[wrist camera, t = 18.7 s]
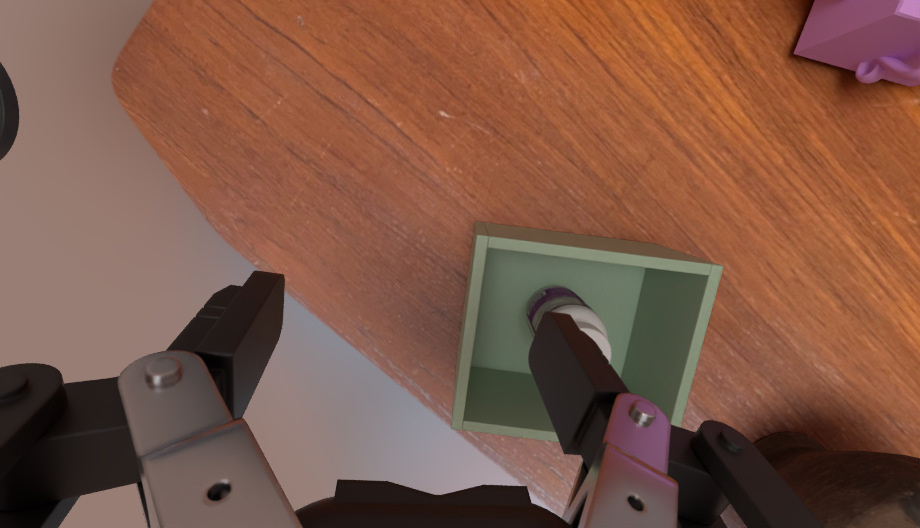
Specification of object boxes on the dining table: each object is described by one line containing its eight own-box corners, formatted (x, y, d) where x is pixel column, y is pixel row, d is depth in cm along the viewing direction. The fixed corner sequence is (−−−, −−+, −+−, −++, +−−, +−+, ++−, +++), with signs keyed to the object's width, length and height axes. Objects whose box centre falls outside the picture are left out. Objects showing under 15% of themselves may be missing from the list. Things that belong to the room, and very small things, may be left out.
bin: (455, 369, 38) (450, 429, 29) (474, 220, 35) (476, 234, 26) (623, 389, 38) (672, 456, 29) (656, 243, 36) (724, 265, 26)
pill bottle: (587, 331, 37) (628, 382, 27) (531, 344, 37) (553, 399, 28) (576, 277, 36) (614, 310, 26) (518, 290, 36) (536, 329, 27)
